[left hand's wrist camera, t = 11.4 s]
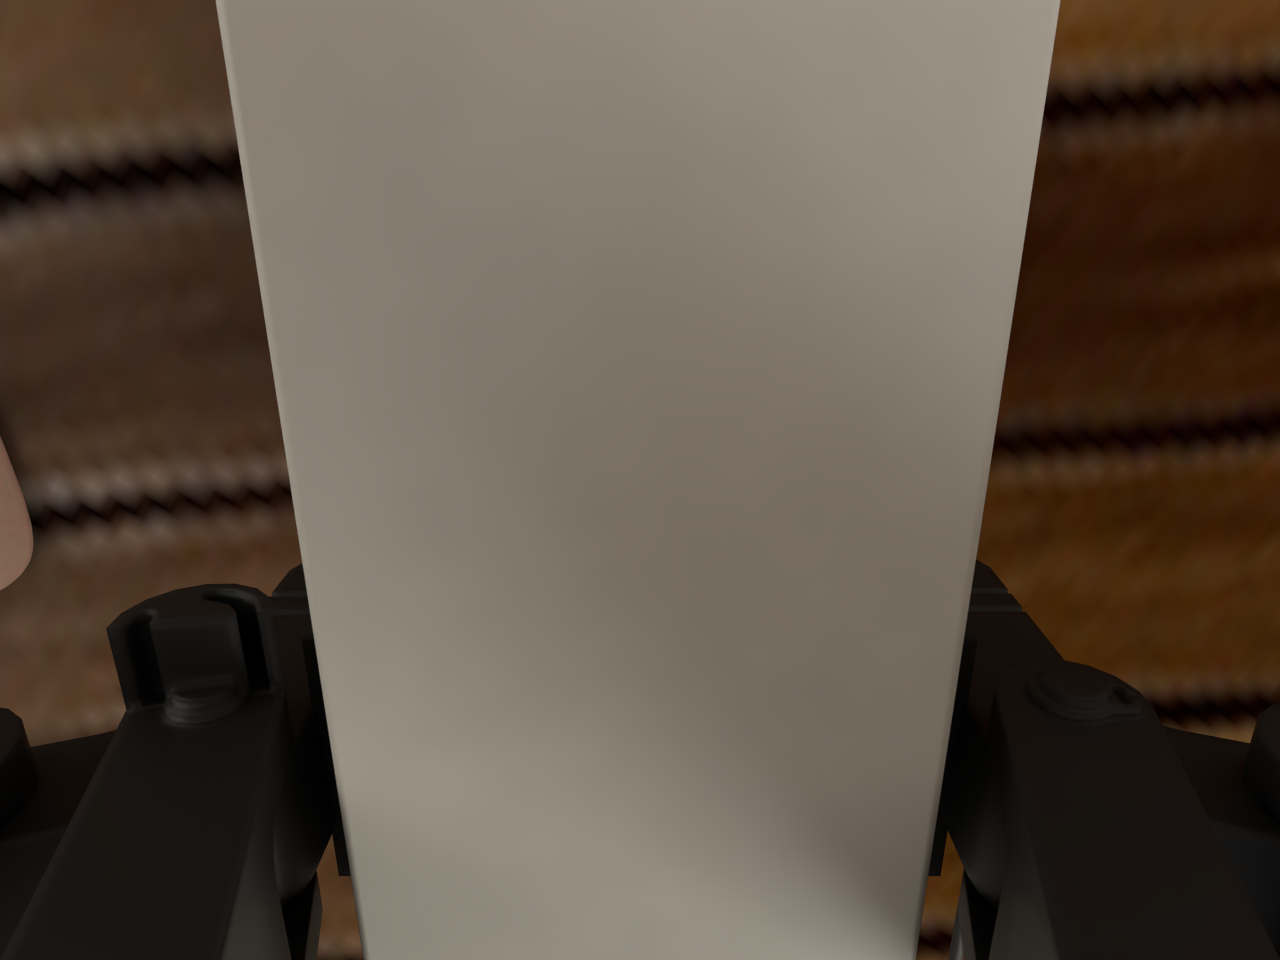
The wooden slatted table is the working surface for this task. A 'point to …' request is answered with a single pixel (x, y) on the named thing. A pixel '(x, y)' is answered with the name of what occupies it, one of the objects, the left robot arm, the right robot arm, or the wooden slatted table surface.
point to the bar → (638, 446)
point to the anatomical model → (12, 524)
